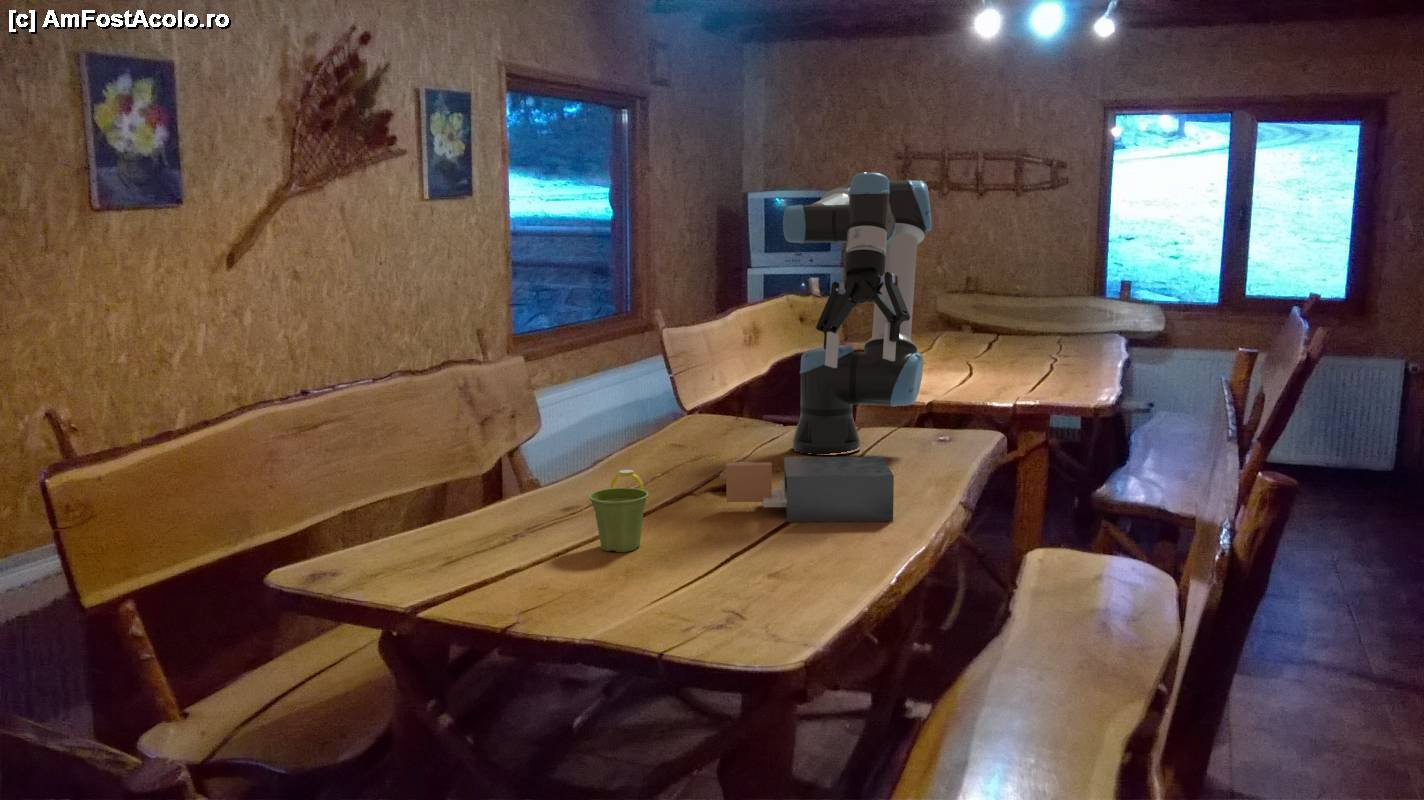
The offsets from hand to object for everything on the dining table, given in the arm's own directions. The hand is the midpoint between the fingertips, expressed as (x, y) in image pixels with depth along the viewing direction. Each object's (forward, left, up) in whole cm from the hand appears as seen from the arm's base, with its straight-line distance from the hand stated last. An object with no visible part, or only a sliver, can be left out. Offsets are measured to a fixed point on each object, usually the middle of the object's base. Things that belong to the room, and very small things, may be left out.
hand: (859, 363), depth 209 cm
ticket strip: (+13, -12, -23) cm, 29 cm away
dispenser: (+13, -5, -25) cm, 28 cm away
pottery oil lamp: (-6, -21, -25) cm, 33 cm away
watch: (+6, -43, -25) cm, 50 cm away
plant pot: (+36, -41, -25) cm, 60 cm away
